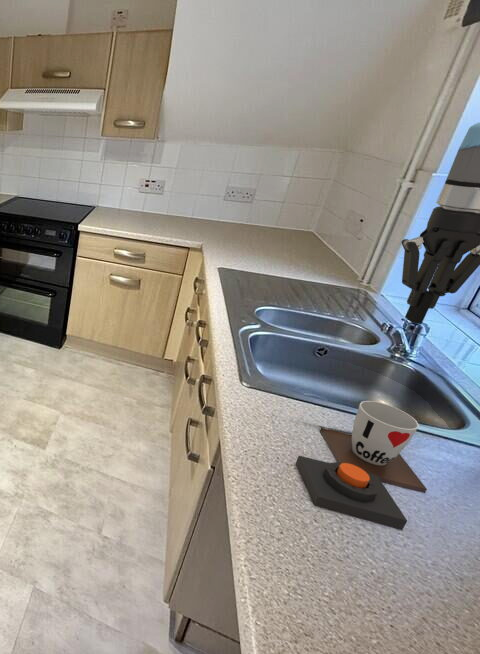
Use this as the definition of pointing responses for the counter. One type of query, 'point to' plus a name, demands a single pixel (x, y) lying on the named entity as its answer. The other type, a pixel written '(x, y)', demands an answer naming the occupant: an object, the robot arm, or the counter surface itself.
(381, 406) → the cup
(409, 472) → the trivet
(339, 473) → the console button
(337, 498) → the console
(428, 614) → the counter surface
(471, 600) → the counter surface
